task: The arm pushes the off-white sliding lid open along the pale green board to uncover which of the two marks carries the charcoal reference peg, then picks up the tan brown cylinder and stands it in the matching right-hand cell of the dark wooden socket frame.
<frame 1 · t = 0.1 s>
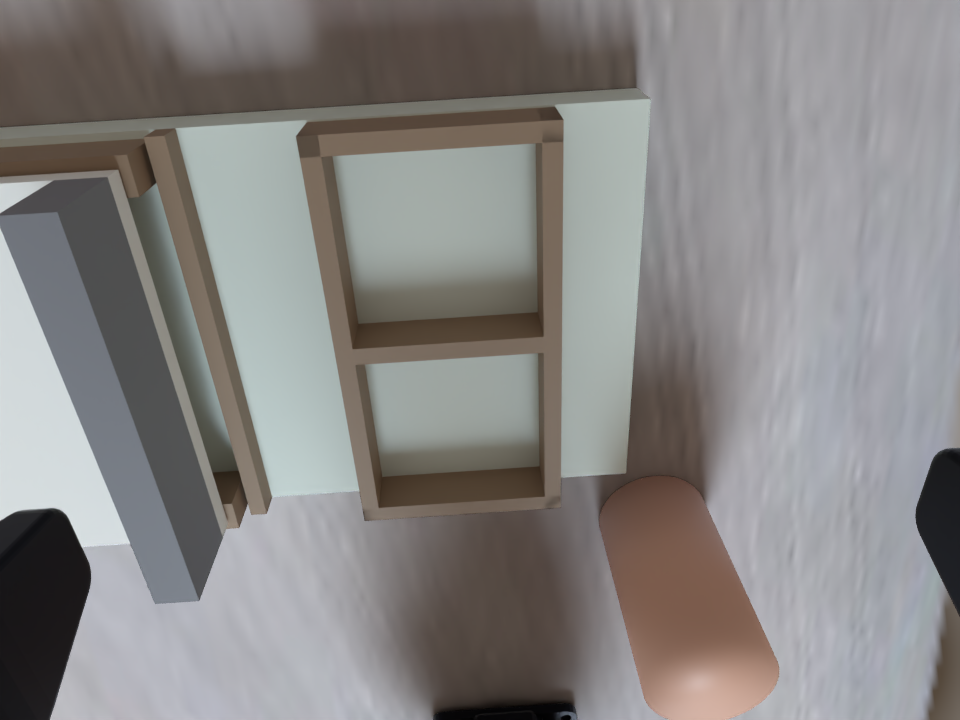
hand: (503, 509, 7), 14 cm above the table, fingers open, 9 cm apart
tan brown cylinder: (651, 516, 27), on the table
board: (238, 316, 22), on the table
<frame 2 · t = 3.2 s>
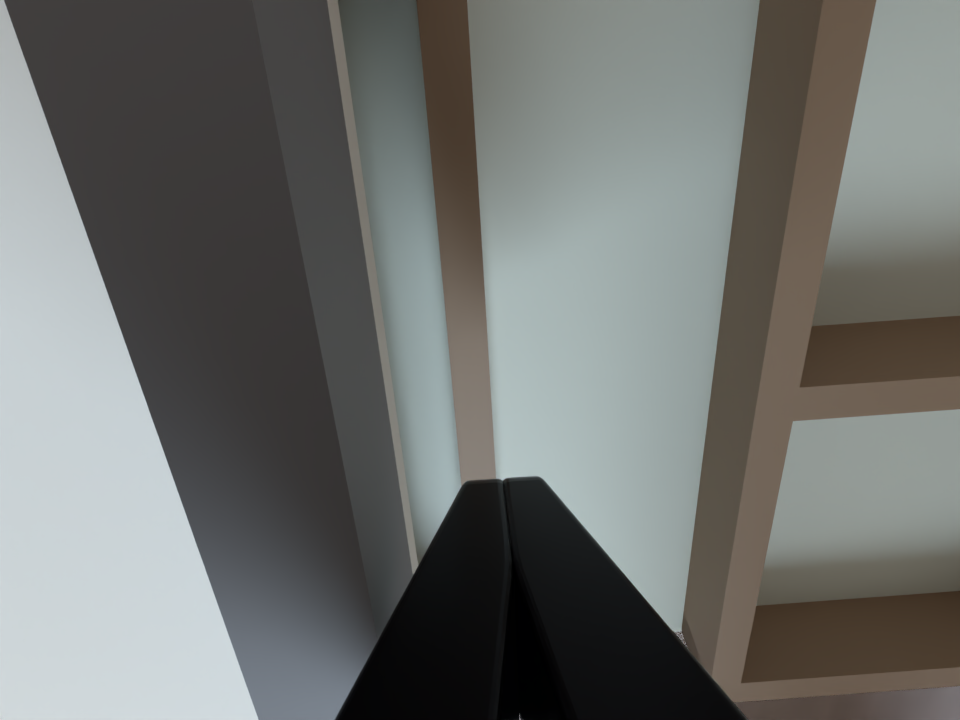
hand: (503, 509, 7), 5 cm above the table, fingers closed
board: (473, 317, 11), on the table
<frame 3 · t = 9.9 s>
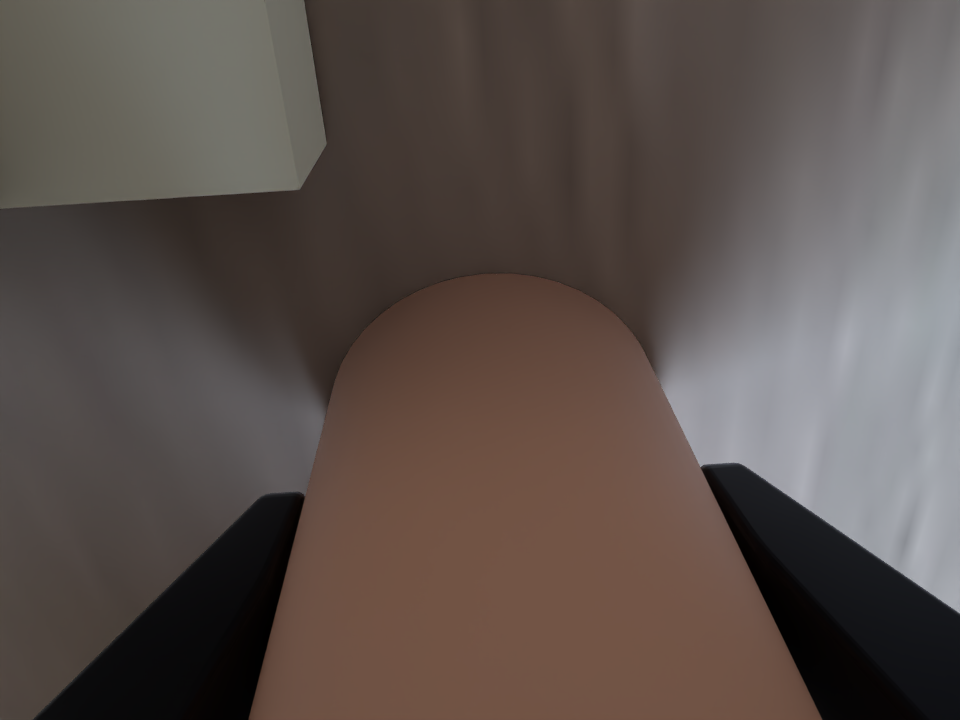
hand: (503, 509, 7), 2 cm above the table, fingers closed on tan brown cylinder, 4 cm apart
tan brown cylinder: (494, 423, 9), on the table, touching gripper
when the fingers open (4 cm above the table, at t = 13.6 s): tan brown cylinder stays where it is, resting on board.
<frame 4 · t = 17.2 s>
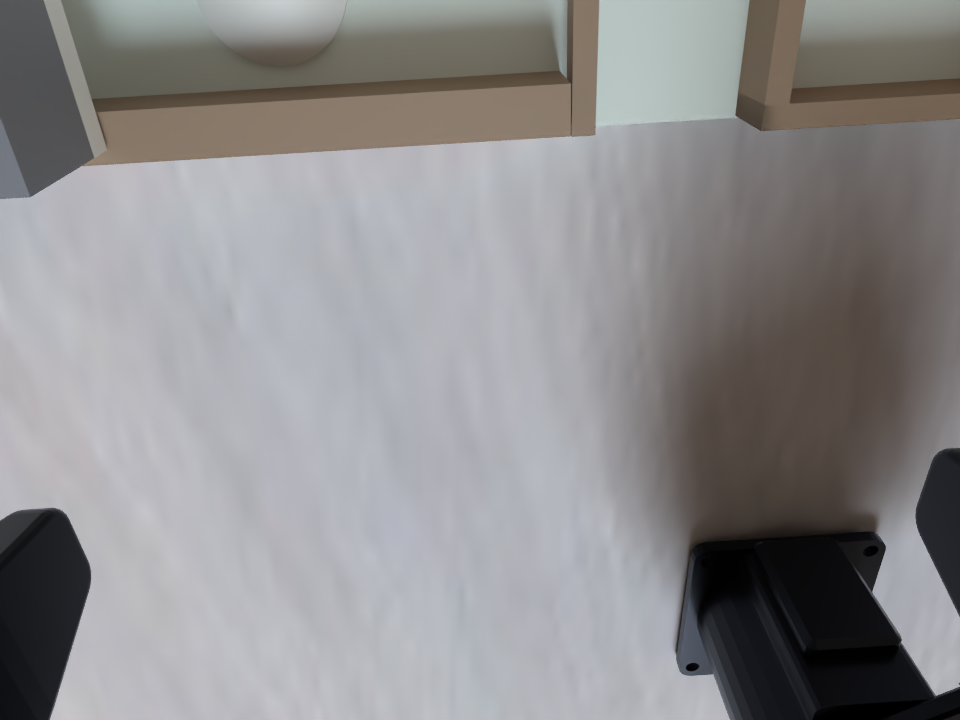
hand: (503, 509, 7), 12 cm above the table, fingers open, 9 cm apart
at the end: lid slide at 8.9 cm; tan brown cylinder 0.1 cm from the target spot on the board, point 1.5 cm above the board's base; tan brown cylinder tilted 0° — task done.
